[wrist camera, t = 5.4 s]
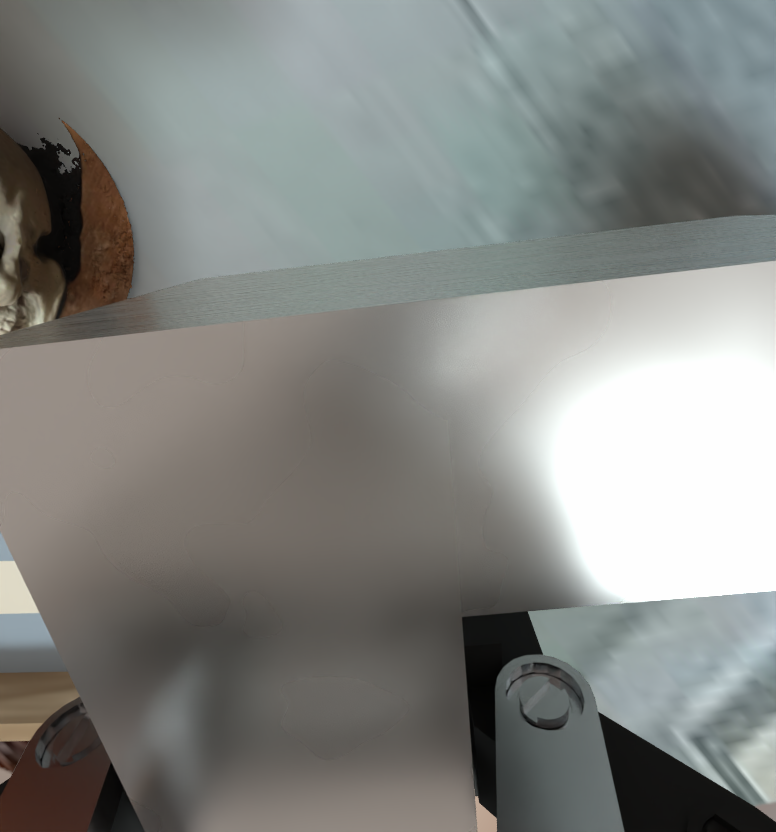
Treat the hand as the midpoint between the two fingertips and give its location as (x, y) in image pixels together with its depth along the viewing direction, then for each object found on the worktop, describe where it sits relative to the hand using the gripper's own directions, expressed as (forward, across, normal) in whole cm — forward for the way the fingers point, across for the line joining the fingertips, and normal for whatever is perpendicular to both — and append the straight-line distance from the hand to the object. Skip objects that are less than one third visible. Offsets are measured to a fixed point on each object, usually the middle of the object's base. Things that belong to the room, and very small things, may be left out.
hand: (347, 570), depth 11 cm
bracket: (+1, -3, +1) cm, 3 cm away
